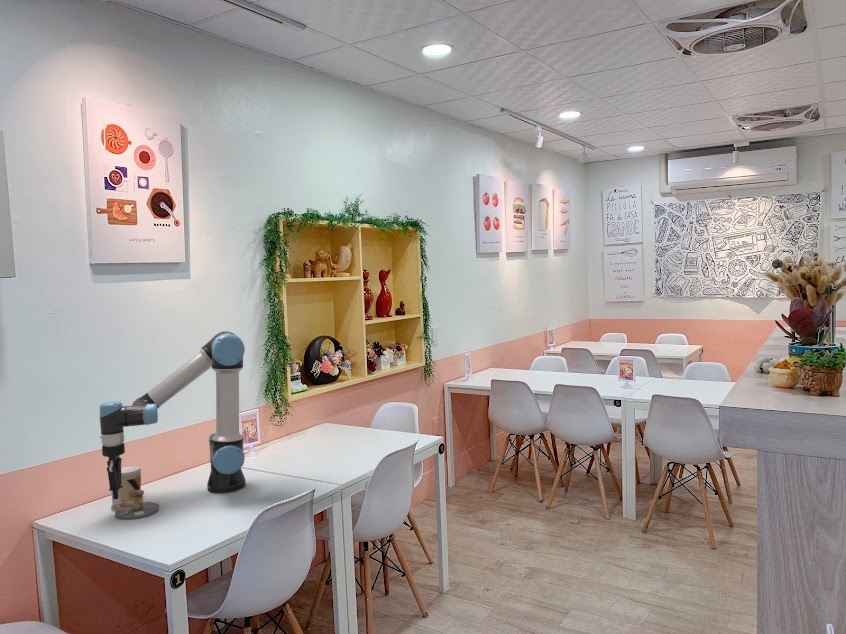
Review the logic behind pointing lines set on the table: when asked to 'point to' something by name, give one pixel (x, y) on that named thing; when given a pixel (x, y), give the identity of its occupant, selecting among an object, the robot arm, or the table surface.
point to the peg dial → (131, 501)
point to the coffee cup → (130, 481)
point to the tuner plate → (137, 511)
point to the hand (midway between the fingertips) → (117, 506)
